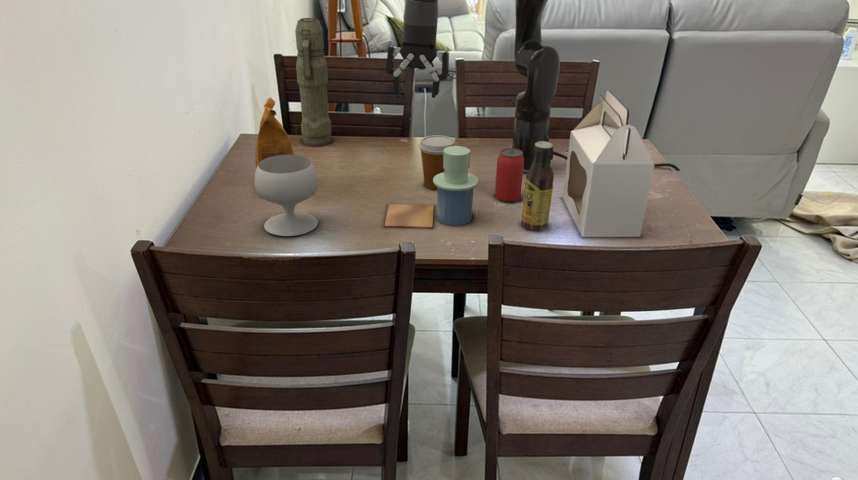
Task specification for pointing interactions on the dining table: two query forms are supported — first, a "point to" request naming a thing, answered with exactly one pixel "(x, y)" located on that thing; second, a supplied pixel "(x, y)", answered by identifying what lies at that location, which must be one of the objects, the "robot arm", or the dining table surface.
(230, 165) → the dining table surface
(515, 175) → the beer can
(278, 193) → the chalice
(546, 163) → the sauce bottle
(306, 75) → the stone tiki statue
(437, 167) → the disposable coffee cup
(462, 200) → the blue cup
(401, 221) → the cork mat
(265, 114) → the coffee package
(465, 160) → the pale green top hat
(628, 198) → the gable box
